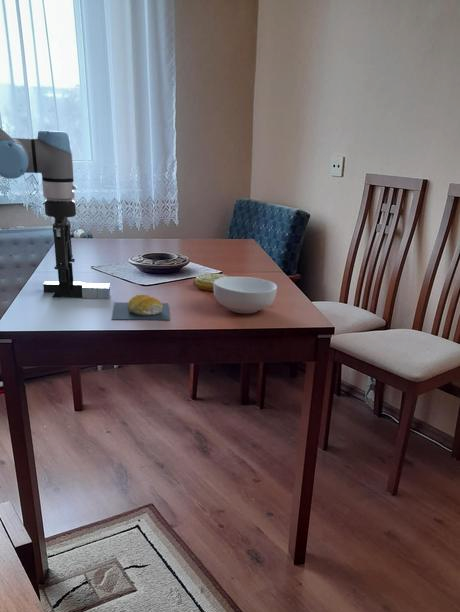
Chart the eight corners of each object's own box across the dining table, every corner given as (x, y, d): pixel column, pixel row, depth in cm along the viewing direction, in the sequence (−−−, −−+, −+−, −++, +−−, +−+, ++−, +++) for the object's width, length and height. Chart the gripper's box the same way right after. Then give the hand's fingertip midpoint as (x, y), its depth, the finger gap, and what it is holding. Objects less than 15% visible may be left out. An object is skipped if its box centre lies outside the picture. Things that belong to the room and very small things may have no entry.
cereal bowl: (284, 318, 143) (286, 291, 140) (222, 320, 139) (223, 292, 135) (262, 299, 157) (264, 274, 154) (205, 301, 153) (206, 275, 150)
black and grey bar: (44, 297, 147) (42, 284, 146) (46, 293, 151) (45, 280, 150) (109, 298, 150) (108, 286, 148) (110, 294, 154) (109, 281, 152)
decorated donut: (234, 292, 162) (234, 280, 160) (197, 292, 160) (198, 279, 158) (227, 283, 171) (228, 271, 169) (193, 283, 169) (193, 270, 167)
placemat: (112, 319, 134) (112, 319, 134) (115, 303, 147) (115, 302, 147) (169, 320, 136) (169, 319, 136) (168, 303, 149) (168, 303, 149)
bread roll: (147, 304, 147) (147, 289, 145) (167, 313, 141) (167, 297, 139) (120, 309, 142) (120, 293, 140) (140, 318, 136) (139, 302, 134)
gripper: (70, 205, 131) (77, 300, 141) (79, 195, 148) (84, 281, 158) (37, 203, 130) (46, 299, 140) (50, 194, 147) (57, 280, 157)
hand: (66, 289), depth 149 cm, fingers open, 6 cm apart
